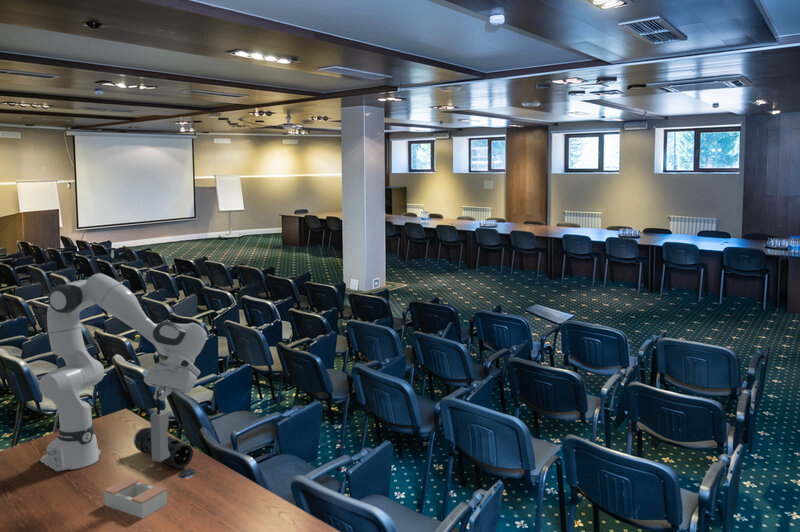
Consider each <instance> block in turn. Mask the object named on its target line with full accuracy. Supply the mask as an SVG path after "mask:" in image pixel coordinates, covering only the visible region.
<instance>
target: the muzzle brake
mask: <svg viewBox="0 0 800 532" xmlns="http://www.w3.org/2000/svg"><path fill="white" fill-rule="evenodd" d="M133 443H134V444H133V445H134V446H135V448H136V449H137V451H140V452H141V453H143V454H144V453H145V454H148V455H150V456H151V457H152V447H151V427H141V428H140V429H138V430H137V431H136V433H135V435H134V437H133ZM168 450H169V452H170V457H168V458H167V459H165V460H163V461H162V462H164V463H167V464H168V465H170V466H173V467H174V468H176V469H179V470H184V469H185V467H186V466H188V465H189V464H190V462H191V461H192V459H193V456H194V450H193V448H192V446H191V445H190V444H187V443H185V442H183V441H182V440H181V441H180V440H178V439H176V438H173V437H171V436H169V435H168Z"/></svg>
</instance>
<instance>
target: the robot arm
mask: <svg viewBox="0 0 800 532" xmlns="http://www.w3.org/2000/svg"><path fill="white" fill-rule="evenodd" d="M48 303H49V305H48V307H47V310H46V311H47V312H46V324H47V325H46V326H47V333H48V337H49V339H48V340H49V344H50V348H51V349H50V350H51V352H52V353H53V354H54V355H55V356H59V357H61V358H62V359H63V360H64V362H65V366H62V367H58V368H56V369H54V370H51V371H50V372H47V373H46V374H45V375H43V376H42V377H41V378H40V380H39V384H38V389H39V391H40V394H41V395H42V396H43V397H44V398H45V399H47V400H49V401H51V402H52V403H53V404H54V405H55V407H56V409H57V414H58V419H59V420H58V422H59V428H56V429H55V432H56V433H57V435H56V438H54V439H53V440H52V441H51V442H50V443H49V444H48V445H47V446H46V454H44V455H43V456H42V457H41V458H40V459H39V462H40V461H41V463H42V464H43V463H44V465H45V466H47V467H48V466H49V467H48V468H50V469H51V468H52V469H51V470H53V469H54V470H53V471H55V472H62V471H67V470H68V469H69V470H78V469H82V468H85V467H88V466H91V465H94V464H95V463H96V462H98V460H99V459H100V454H101V449H99V448H98V441H97V440H98V439H97V436H96V434H95V427H94V423H93V418H92V416H93V415H92V406H91V405H90V403H88V402H87V401H85V400H82V399H81V397H80V392H82V391H85V390H86V389H90V388H91V387H94V386H95V385H97V384H99V383H100V382H101V381H102V380H103V378H104V377H105V367H104V365H103V364H102V362H100V361H99V360H97V359H95V358H94V357H92V355H90V353H89V352H88V350H87V348H86V345H85V342H84V337H83V331H82V325H81V321H80V313H81V312H82V311H83V310H86V311H87V310H89V309H91V308H94V307H95V306H99V307H100V308H101V309H103V311H105V312H107V313H108V314H110V315H111V316H113V317H115V318H116V319H118V320H120V321H121V322H123V324H126V325H127V326H129V327H130V328H132V329H133V330H134V331H136V332H137V334H139V335H141V336H142V337H143V338H144V339H146V340H147V341H148V342H149V343H150V344H152V345H153V347H154V348H155V351H156V353H157V354H158V356H159V357H160V358H162V359H164V360H165V361H159V362H156V363H155V364H154V365H153V366H151V368H150V369H149V371H147V373H146V375H144V377H143V382H144V384H146V385H148V386H149V387H154V388H155V393H154V395H153V399H154V400H156V401H157V391H159V396H158V399H159V401H162V402H164V400H165V399H166V398H167V397H168V396H170V394H172V392H173V391H174V392H178V393H183V394H189V393H190V392H191V391H192V390H193V388H194V386H195V384H196V383H197V379H198V377H199V376H200V375H201V371H200V369H199V368H197V366H195V360H196V358H197V357H198V355H199V354H200V353H201V352H202V350H203V349H204V346H205V344H206V341H207V340H208V332H207V331H206V329H205V328H204V327H203V326H201V325H200V324H198V323H195V322H190V323H175V322H173V321H167V320H166V321H162V322H160V323H159V324H156V323H154V322H153V321H152V320H151V319H150V318H149V317H148V316H147V314H146V313H145V312H144V310H143V308H142V306H141V304H140V302H139V300H138V298H137V296H136V295H135V294H134V293H133V292H132V291H131V290H130V289H129V288H128V287H127V286H125V285H124V284H123V283H121V282H120V281H118V280H116V279H114V278H113V277H111V276H109V275H106V274H104V273H101V272H99V273H98V272H97V273H95V274H92V275H91V276H90V277H88V278H87V279H82V280H79V279H78V280H74V281H72V282H68V283H65V284H60V285H59V284H58V285H57V286H55V287H54V288H52V289H51V290H50V292H49V294H48ZM163 390H164V391H163ZM161 392H162V393H161Z"/></svg>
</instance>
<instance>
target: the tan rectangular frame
mask: <svg viewBox="0 0 800 532" xmlns="http://www.w3.org/2000/svg"><path fill="white" fill-rule="evenodd" d="M103 493H104V495H103V496H104V506H105V505H106V506H105V507H108V508H111V509H114V510H117V511H120V512H122V513H123V512H124V513H126V514H129V515H132V516H135V517H138V518H140V519H144V518H146V517H149V516H150V515H152V514H153V513H155V512H157V511H158V510H160V509H162V508H164V507H165V506H167V505H168V499H167V498H168V497H167V494H168V493H167V488H165V487H161V486H158V485H154V486H153V485H149V484H146V483H144V482H140V480H138V479H135V478H132V477H127V478H125V479H123V480H121V481H119V482H116V483H115V484H113V485H111V486H109V487H107V488H105V489H104V490H103Z"/></svg>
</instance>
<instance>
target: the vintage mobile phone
mask: <svg viewBox="0 0 800 532" xmlns="http://www.w3.org/2000/svg"><path fill="white" fill-rule="evenodd" d="M158 396H159V391H157V400H156V402H157V403H156V412H154V413H152V414H150V428H151V447H152V456H151V460H152V462H153V461H154V462H157V463H158V462H159V463H162V462H164V461H163V460H165V459H167V458H168V457H170V452H169V450H168V436H169V435H168V434H169V433H168V432H169V431H168V428H169V422H170V421H169V420H170V418H169V417H170V415H169V413H170V412H169V411H168V410H167V411H166V410H162V409H161V407H160V400H159V399H158Z"/></svg>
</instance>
